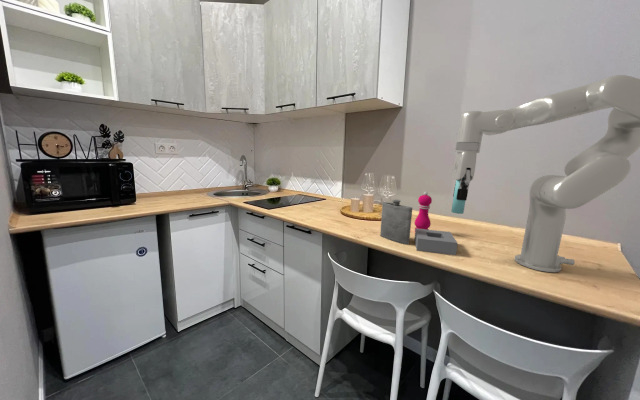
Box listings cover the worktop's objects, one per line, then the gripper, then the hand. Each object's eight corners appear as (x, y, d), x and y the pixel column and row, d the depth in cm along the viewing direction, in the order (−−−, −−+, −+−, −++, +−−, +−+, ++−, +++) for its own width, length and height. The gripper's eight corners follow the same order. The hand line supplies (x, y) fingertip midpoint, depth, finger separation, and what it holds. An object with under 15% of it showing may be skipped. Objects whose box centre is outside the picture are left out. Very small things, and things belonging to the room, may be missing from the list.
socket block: (448, 243, 109) (450, 231, 108) (455, 255, 96) (457, 242, 95) (414, 239, 113) (415, 228, 112) (416, 250, 99) (417, 238, 99)
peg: (461, 211, 95) (467, 174, 92) (464, 214, 91) (471, 175, 88) (450, 210, 96) (455, 174, 93) (452, 213, 92) (458, 174, 89)
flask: (405, 245, 105) (409, 203, 101) (377, 236, 115) (380, 197, 112) (410, 243, 107) (414, 202, 103) (382, 234, 118) (385, 196, 114)
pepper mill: (426, 230, 126) (431, 190, 122) (431, 235, 119) (436, 193, 115) (412, 229, 127) (415, 190, 123) (415, 234, 120) (420, 192, 116)
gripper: (450, 148, 98) (443, 194, 102) (462, 147, 82) (453, 202, 86) (472, 149, 96) (464, 196, 100) (488, 148, 80) (478, 204, 84)
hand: (459, 198), depth 93 cm, fingers closed on peg, 4 cm apart
